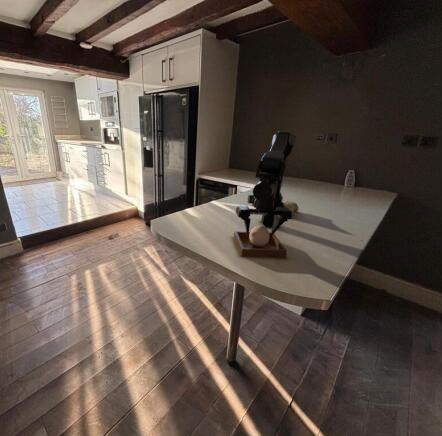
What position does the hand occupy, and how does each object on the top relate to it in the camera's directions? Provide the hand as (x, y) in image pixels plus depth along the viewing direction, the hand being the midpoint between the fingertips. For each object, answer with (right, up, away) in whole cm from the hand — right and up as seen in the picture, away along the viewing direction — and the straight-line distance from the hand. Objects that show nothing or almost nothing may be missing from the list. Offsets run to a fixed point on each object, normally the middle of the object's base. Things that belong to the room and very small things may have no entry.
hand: (259, 233), depth 86 cm
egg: (0, -5, +2) cm, 5 cm away
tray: (0, -5, +2) cm, 6 cm away
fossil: (+28, +9, +39) cm, 49 cm away
